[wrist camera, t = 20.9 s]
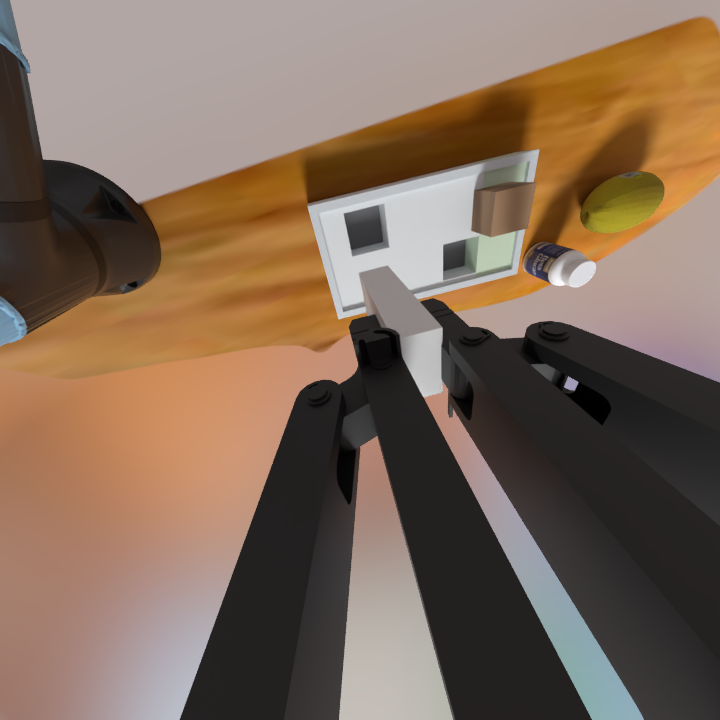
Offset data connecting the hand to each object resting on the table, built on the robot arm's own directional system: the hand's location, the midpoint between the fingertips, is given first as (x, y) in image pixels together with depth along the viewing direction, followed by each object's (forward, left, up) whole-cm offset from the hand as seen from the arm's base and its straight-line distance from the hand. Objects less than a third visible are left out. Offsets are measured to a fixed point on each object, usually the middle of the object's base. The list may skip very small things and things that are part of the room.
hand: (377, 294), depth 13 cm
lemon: (+40, +14, -30) cm, 52 cm away
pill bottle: (+36, +4, -30) cm, 47 cm away
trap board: (+13, +1, -29) cm, 32 cm away
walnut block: (+20, +8, -25) cm, 33 cm away
